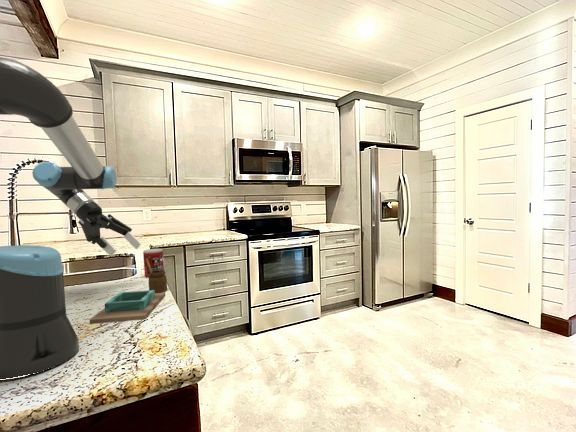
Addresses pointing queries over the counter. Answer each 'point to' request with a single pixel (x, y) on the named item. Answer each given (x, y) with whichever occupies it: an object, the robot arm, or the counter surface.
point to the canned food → (153, 260)
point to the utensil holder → (157, 279)
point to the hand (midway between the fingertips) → (127, 249)
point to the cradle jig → (129, 306)
